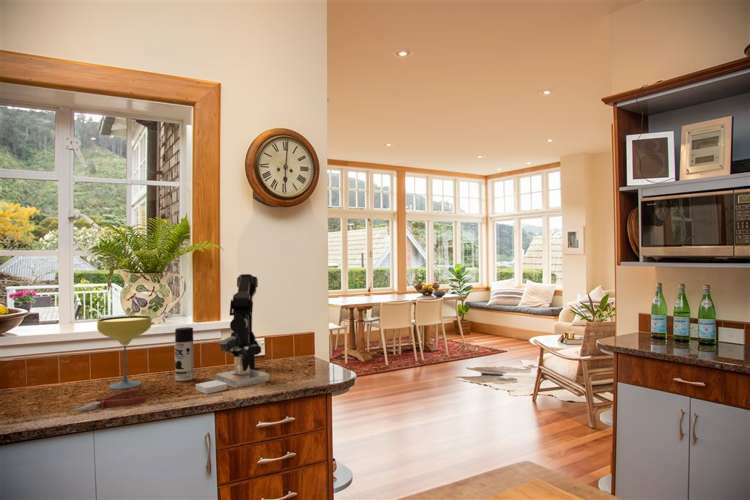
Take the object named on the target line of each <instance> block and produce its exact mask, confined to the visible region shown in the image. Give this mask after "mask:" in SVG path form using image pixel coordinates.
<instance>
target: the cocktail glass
mask: <svg viewBox="0 0 750 500" xmlns="http://www.w3.org/2000/svg"><path fill="white" fill-rule="evenodd" d="M96 323H97V324H96V328H97V331H98V332H99V333H100V334H101V335H104V336H105V337H108V338H111V339H113V340H115V341H117V342H118V343H120V345H121V346H122V347H123V353H124V354H123V378H122V381H120V382H116V383H112V384H110V385H109V386H108V389H110V390H128V389H134V388H136V387H138V386H141V385H142V382H140V381H137V380H128V375H127V346H129V344H130V343H131V342H132V340H133V339H135V338H137V337H139V336H141V335H142V334H144V333H146V332H147V331H148V330H149V329H151V327H152V317H151V316H149V315H148V316H146V315H130V316H129V315H126V316H113V317H105V318H100V319H98V320H97V322H96Z"/></svg>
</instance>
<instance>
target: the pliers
mask: <svg viewBox="0 0 750 500" xmlns="http://www.w3.org/2000/svg"><path fill="white" fill-rule="evenodd" d="M146 401H147V400H146V397H145V396H144V395H141V396H137V392H136V391H135V390H131V391H130V390H129V391H125V392H119V393H116V394H114V395H111V396H107V397H105V398H97V399H96V401H95V402H94V401H93V402H88V403H86V404H85V403H84V404H82V405H78V406H75V407H72V408H71V409H70V410H71V411H72V412H82V411H84V412H85V411H91V410H96V409H101V410H102V409H103V410H104V408H114V407H116V408H117V407H125V406H133V405H134V406H135V405H138V404H143V403H145V402H146Z"/></svg>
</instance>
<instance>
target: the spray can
mask: <svg viewBox="0 0 750 500" xmlns="http://www.w3.org/2000/svg"><path fill="white" fill-rule="evenodd" d="M174 331H175V332H174V335H175V336H174V362H175V363H174V367H175V368H174V370H175V371H174V378H175V379H174V380H175V381H176V382H190V381H192V380H193V379H194V328H193V327H192V326H191V327H177V328H175V330H174Z"/></svg>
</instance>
